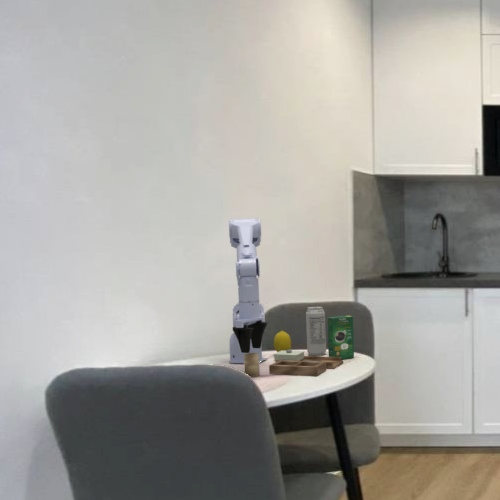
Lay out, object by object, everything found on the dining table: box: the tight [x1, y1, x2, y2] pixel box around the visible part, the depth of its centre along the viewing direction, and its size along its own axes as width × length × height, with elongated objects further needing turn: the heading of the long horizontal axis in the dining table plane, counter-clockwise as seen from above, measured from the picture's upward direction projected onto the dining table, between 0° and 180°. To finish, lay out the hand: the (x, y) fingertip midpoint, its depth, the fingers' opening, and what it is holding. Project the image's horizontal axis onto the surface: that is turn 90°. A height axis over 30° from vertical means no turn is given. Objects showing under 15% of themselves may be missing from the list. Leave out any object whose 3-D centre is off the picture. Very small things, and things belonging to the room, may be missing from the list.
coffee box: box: [327, 315, 355, 360], centre depth 220 cm, size 8×3×13 cm, turn 118°
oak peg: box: [243, 353, 260, 378], centre depth 201 cm, size 4×4×6 cm
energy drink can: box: [305, 306, 327, 356], centre depth 230 cm, size 6×6×15 cm
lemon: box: [273, 330, 292, 353], centre depth 230 cm, size 6×6×8 cm
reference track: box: [274, 355, 344, 370], centre depth 213 cm, size 18×9×2 cm, turn 66°
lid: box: [272, 349, 305, 362], centre depth 216 cm, size 7×7×3 cm
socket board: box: [268, 360, 327, 377], centre depth 203 cm, size 14×8×2 cm, turn 66°
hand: (251, 350), depth 201 cm, fingers open, 7 cm apart
